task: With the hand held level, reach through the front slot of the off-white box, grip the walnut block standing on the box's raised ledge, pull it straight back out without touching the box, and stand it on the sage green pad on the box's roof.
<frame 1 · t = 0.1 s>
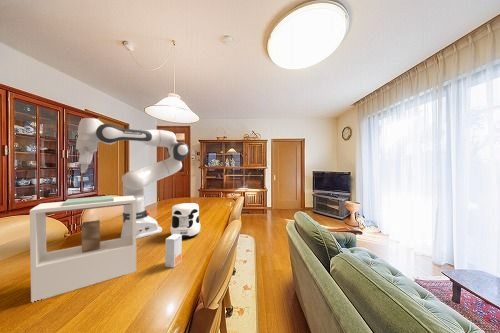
hand: (83, 172, 101), 39 cm above the table, tool pointing down, fingers open, 8 cm apart
milk container: (185, 235, 115), on the table
walnut block: (91, 248, 72), point 11 cm above the table, touching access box
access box: (91, 277, 72), on the table
skincare box: (173, 264, 82), on the table
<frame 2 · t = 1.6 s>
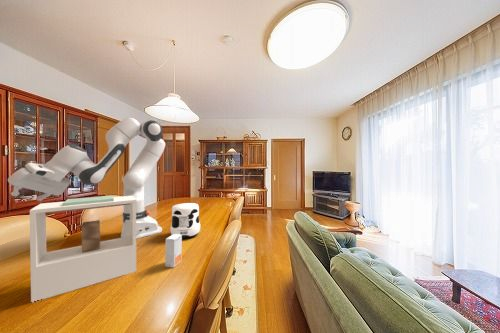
hand: (26, 197, 84), 28 cm above the table, tool tilted 40°, fingers open, 8 cm apart
nothing on the table moved.
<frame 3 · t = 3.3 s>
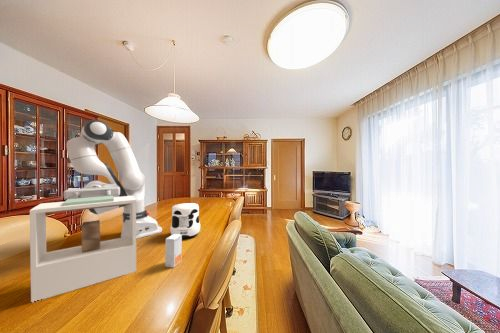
hand: (93, 194, 83), 30 cm above the table, tool horizontal, fingers open, 8 cm apart
nothing on the table moved.
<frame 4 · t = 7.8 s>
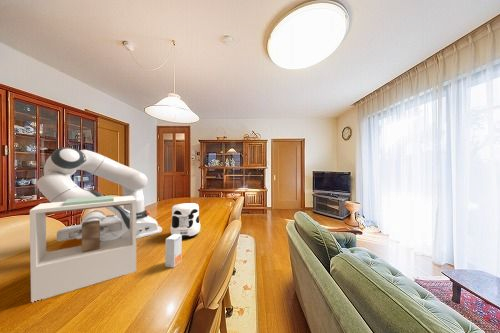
hand: (91, 235, 71), 17 cm above the table, tool horizontal, fingers closed on walnut block, 5 cm apart
walnut block: (91, 248, 72), point 11 cm above the table, touching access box, gripper
everything else where it was.
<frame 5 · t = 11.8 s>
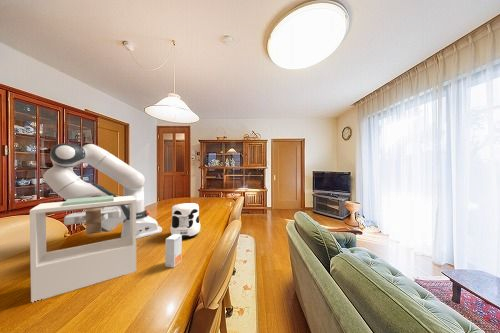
hand: (93, 219, 82), 19 cm above the table, tool horizontal, fingers closed on walnut block, 5 cm apart
walnut block: (94, 231, 83), point 13 cm above the table, touching gripper
everything else where it was.
when the fingers open (37 cm above the table, at t = 16.0 s): walnut block drops 1 cm, resting on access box.
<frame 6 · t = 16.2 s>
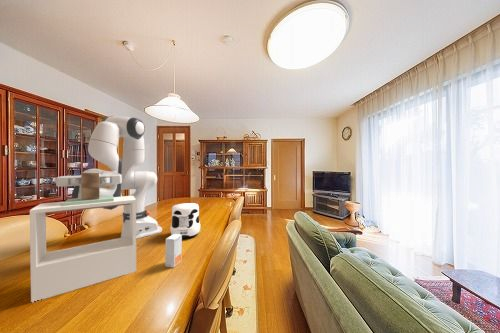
hand: (90, 181, 71), 37 cm above the table, tool horizontal, fingers open, 7 cm apart
walnut block: (91, 198, 71), point 30 cm above the table, touching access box
everything else where it was.
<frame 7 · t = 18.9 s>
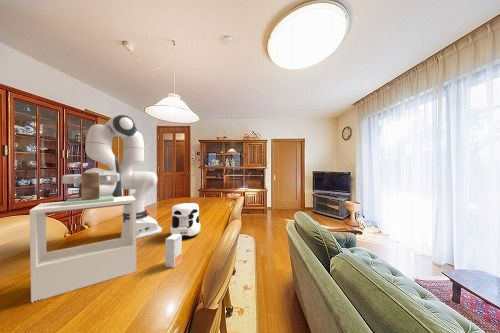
hand: (91, 179, 81), 37 cm above the table, tool horizontal, fingers open, 8 cm apart
nothing on the table moved.
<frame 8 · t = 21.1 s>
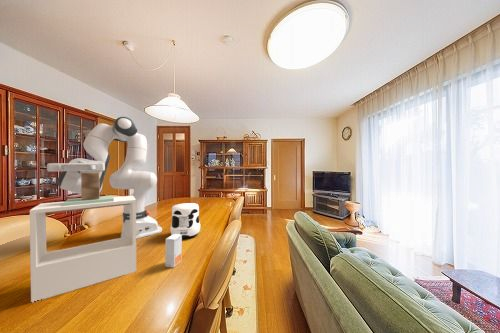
hand: (76, 167, 84), 42 cm above the table, tool horizontal, fingers open, 8 cm apart
nothing on the table moved.
at the end: walnut block inside the target area (0.1 cm from its centre), point 30.2 cm above the table; walnut block tilted 0°; the gripper is holding nothing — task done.
